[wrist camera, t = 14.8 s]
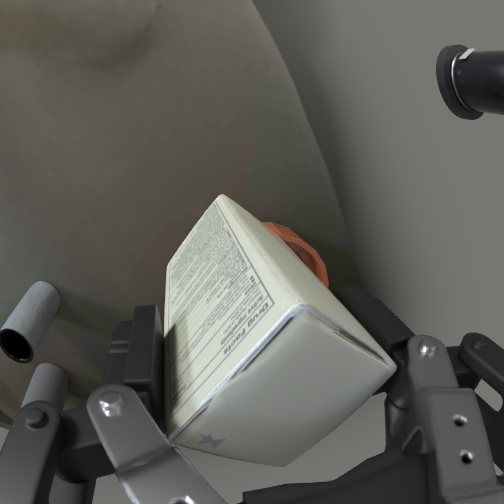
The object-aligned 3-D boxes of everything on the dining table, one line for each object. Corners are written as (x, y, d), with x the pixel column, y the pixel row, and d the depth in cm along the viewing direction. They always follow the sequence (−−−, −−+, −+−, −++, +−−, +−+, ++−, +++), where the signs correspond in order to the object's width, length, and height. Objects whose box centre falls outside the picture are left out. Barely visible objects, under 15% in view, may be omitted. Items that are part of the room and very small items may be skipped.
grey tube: (45, 274, 31) (11, 322, 22) (67, 302, 33) (41, 355, 24) (24, 290, 31) (-9, 338, 21) (45, 317, 33) (19, 369, 23)
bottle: (51, 391, 37) (31, 466, 24) (29, 366, 35) (0, 441, 21) (76, 385, 38) (59, 466, 24) (54, 358, 35) (27, 440, 22)
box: (226, 303, 18) (277, 475, 8) (163, 265, 16) (155, 448, 6) (284, 233, 17) (406, 370, 7) (223, 186, 15) (303, 303, 5)
